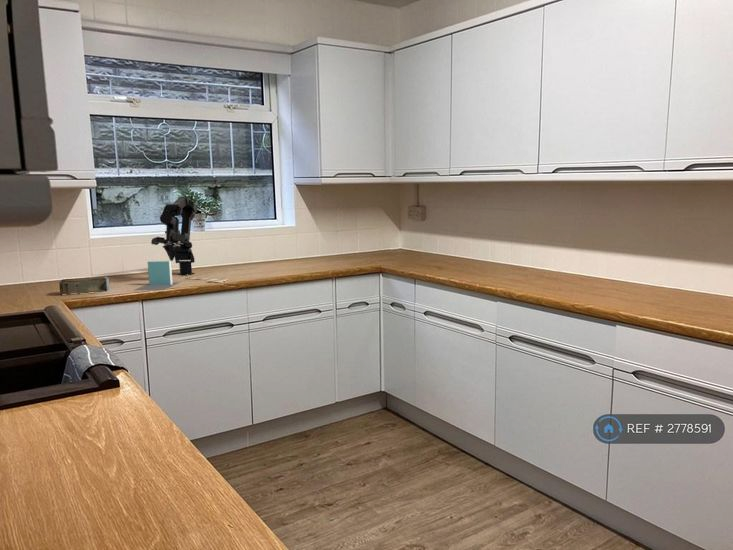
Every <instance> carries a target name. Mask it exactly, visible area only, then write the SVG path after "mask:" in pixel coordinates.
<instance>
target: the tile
mask: <svg viewBox="0 0 733 550" xmlns="http://www.w3.org/2000/svg"><path fill="white" fill-rule="evenodd" d="M172 269H173V268H172V261H170V260H149V261H147V274H148V284H149V285H172V284H173V283H172V282H173V271H172Z"/></svg>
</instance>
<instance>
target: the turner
mask: <svg viewBox="0 0 733 550" xmlns="http://www.w3.org/2000/svg"><path fill="white" fill-rule="evenodd" d="M186 279H187V280H188V281H205V282H206V283H211V282H219V283H218V284H221V283H224V282H223V281H225V282H227V281H226V280H228V281H229V279H227V278H225V279H224V278H206V277H205V278H203V277H185V280H186ZM220 282H221V283H220Z"/></svg>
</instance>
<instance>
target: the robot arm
mask: <svg viewBox="0 0 733 550" xmlns="http://www.w3.org/2000/svg"><path fill="white" fill-rule="evenodd" d="M196 213H197V206H196V204H195V202H194V201H192V200H191V199H189V197H188V196H179V197H177V199H175V201H174V202H173V203H166V204H165V206H164V208H163V210H162V213H161V215H160V217H159V220H160V222H161V223H162V224H163V225H165V231H164V234H165V237H160V236H156V237H152V239H151V241H150V242H151V243H150V244H151V245H155V246H158V245H159V244H163V246H162V248H163V249H164V250H165V252H166V254H167V257H168V258H169V261H171V262H173V261H174V262H175V264H179V266H178V268H179V272H178V273H177V275H179V274H181V275H180V276H188V275H187V274H190V275H195V272H193V271H192V263H193V264H194V263H195V262H196V261H195V260H196V259H195V256H194V254H193V251H192V249H193V244H192V242H191V241H190V239H191V229H192V228H191V226H192V221H193V219H194V218H195V216H196ZM180 216H181V227H180V220H179V218H178V217H180Z"/></svg>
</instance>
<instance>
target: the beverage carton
mask: <svg viewBox="0 0 733 550" xmlns="http://www.w3.org/2000/svg"><path fill="white" fill-rule="evenodd" d="M109 283H110V282H109V277H108V276H98V277H83V278H65V279H61V280H60V281H59V293H60V294H71V293H89V292H100V293H103V292H104V293H105V292H109V290H110V284H109Z"/></svg>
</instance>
